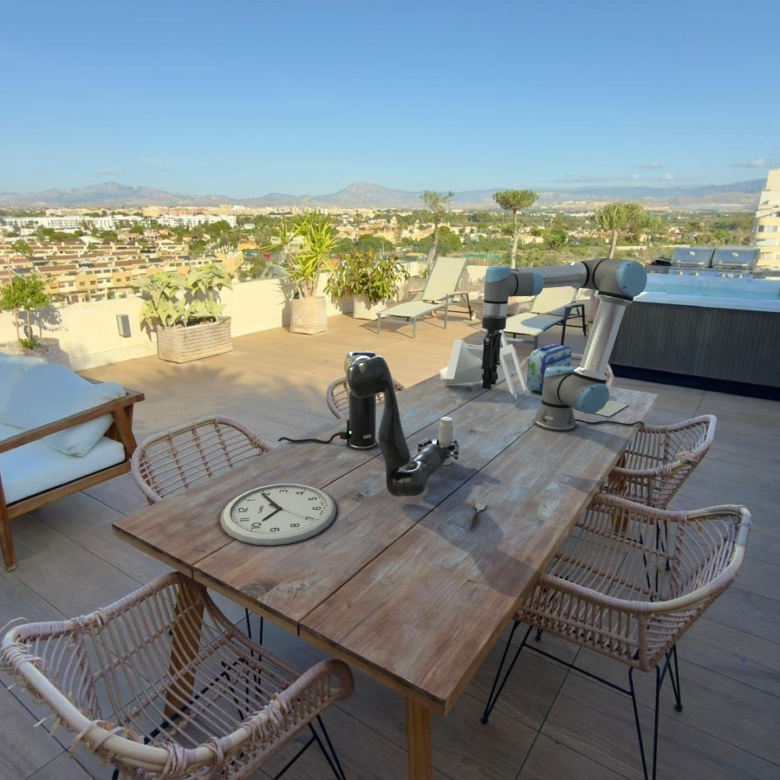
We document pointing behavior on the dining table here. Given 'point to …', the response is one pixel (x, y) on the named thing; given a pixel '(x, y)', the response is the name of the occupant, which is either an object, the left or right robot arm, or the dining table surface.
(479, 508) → the fork
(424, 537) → the dining table surface
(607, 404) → the invitation card
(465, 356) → the white plastic object
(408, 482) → the left robot arm
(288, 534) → the wall clock
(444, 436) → the jar
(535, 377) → the lunch box
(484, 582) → the dining table surface
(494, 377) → the lid
